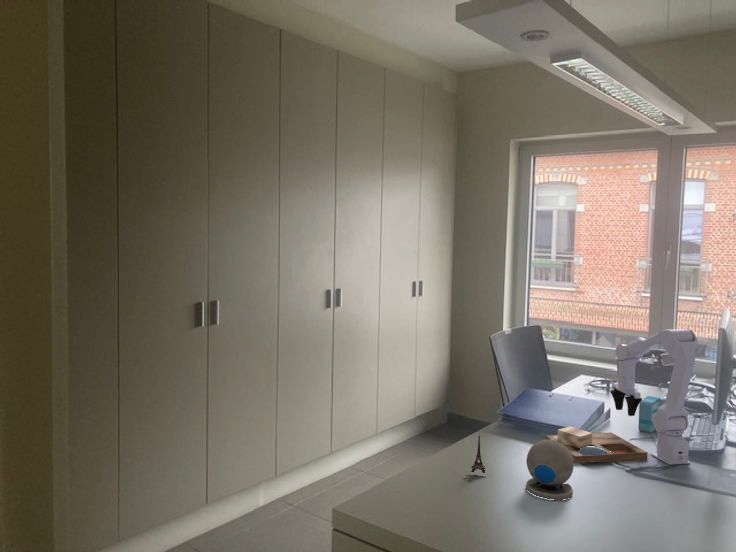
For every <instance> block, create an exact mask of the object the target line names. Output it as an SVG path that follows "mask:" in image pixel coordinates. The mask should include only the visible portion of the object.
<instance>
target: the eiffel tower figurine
mask: <svg viewBox="0 0 736 552" xmlns="http://www.w3.org/2000/svg"><path fill="white" fill-rule="evenodd" d="M478 433H479V434H478V437H477V438H478V443H477V453H476V456H475V461H473V464H472V465H473V466H472V465H471V466H472V467H471V468H473V469H472V471H471V472H474V471H475V470H476V469H478V470H482V472H483V473H485V470H484V469H486V468H485V467H486V466H484V465H483V463H484V462H483V461H482V454H481V436H480V431H479V432H478Z"/></svg>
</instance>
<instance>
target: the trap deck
mask: <svg viewBox="0 0 736 552" xmlns="http://www.w3.org/2000/svg"><path fill="white" fill-rule="evenodd" d="M591 433H592V445H589V446H595V447H599V448H602V449H604V450H605V451H607V454H601V455H582V454H581V453H579V452H578V451H579V450H580V448H577V447H574V446H571V445H568V444H565V443H562V442H560V443H561V444H563V445H564V446H565V447H566V448H567V449H568V450H569V451H570V453H571V455H572V458H573V463H574V464H575V463H581V464H586V463H585V462H591V461H593V462H594V461H596V462H597V461H599V463H613V462H615V461H616V462H633V461H647V460H648V451H646V450H643V449H642V448H640V447H638V446H637V445H635V444H633V443H631V442H629V441H627V440H626V439H624V438H622V437H620V436H618V435H617V434H615V433H613V432H591ZM557 438H558V434H551V435H550V434H548V435H547V434H546V435H545V439H544V440H547V439H549V440H555V441H557ZM558 442H559V441H558ZM610 451H611V452H610ZM616 462H615V463H616Z"/></svg>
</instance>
